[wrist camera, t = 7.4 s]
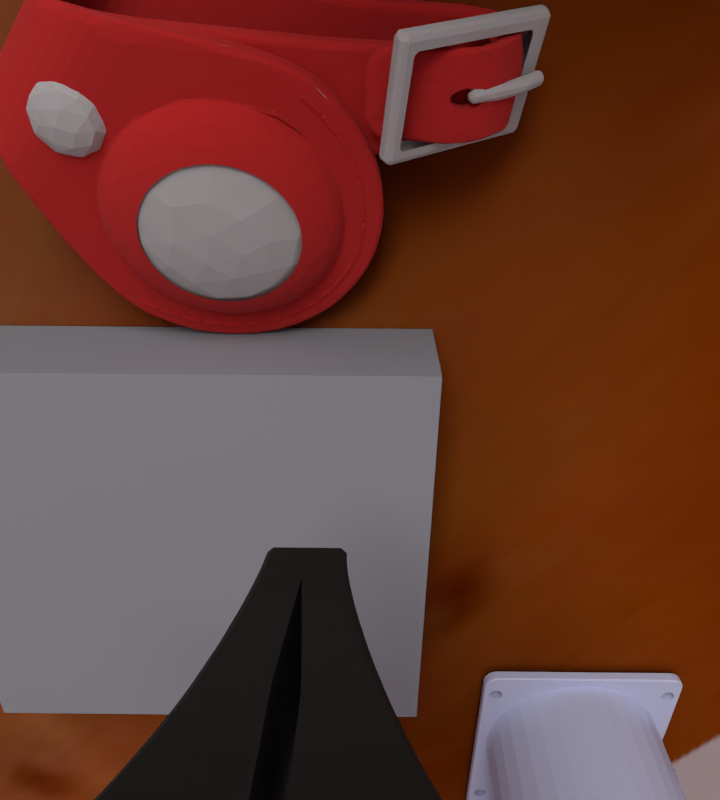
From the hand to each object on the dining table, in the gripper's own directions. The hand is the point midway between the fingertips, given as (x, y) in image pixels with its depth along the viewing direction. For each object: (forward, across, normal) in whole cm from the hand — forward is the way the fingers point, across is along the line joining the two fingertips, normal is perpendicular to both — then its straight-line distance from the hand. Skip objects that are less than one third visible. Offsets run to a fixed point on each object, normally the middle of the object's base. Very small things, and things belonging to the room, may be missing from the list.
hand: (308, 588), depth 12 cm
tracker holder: (+10, +1, -6) cm, 12 cm away
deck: (+9, +4, +6) cm, 12 cm away
